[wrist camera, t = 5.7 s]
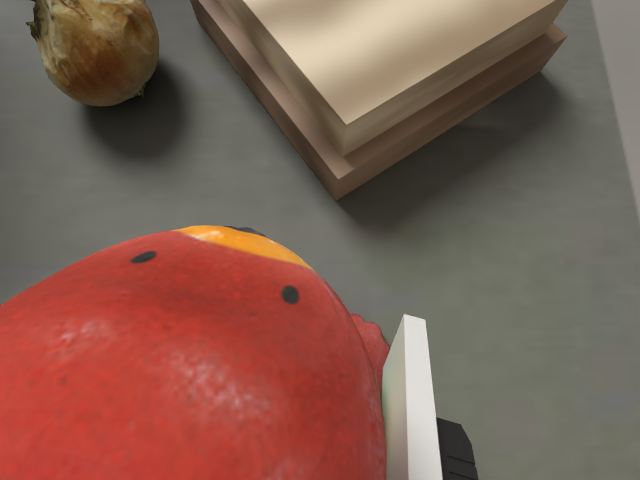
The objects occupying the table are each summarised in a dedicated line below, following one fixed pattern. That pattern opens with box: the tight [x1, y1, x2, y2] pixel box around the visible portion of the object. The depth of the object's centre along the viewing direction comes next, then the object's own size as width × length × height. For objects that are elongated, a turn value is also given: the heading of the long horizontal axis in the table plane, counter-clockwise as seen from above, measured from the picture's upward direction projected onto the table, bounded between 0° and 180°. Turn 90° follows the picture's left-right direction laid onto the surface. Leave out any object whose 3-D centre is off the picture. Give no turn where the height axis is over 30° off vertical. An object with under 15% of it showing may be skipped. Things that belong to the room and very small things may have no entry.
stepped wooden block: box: [190, 0, 568, 201], centre depth 24 cm, size 18×18×6 cm
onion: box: [26, 0, 159, 106], centre depth 22 cm, size 8×8×8 cm
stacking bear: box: [0, 225, 390, 480], centre depth 11 cm, size 11×10×18 cm
